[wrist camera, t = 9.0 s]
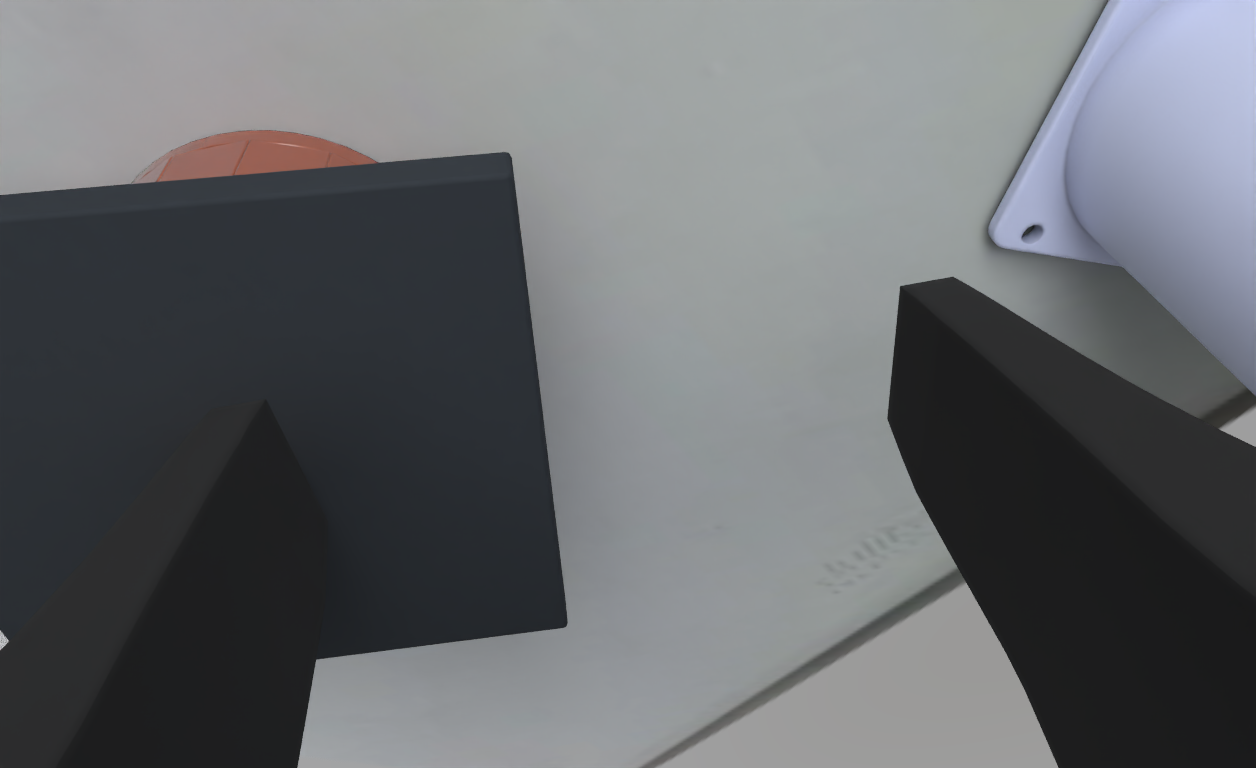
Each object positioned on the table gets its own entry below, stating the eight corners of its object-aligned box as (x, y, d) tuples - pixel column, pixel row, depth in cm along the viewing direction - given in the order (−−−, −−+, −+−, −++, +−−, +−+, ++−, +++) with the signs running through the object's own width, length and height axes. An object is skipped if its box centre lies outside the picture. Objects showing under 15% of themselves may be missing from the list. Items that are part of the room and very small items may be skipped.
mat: (510, 148, 13) (520, 299, 10) (565, 599, 21) (580, 767, 17) (-277, 216, 13) (-518, 400, 10) (63, 662, 20) (-13, 851, 17)
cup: (486, 161, 19) (489, 306, 15) (447, 428, 24) (441, 595, 20) (83, 98, 17) (-40, 243, 13) (126, 401, 22) (44, 580, 18)
